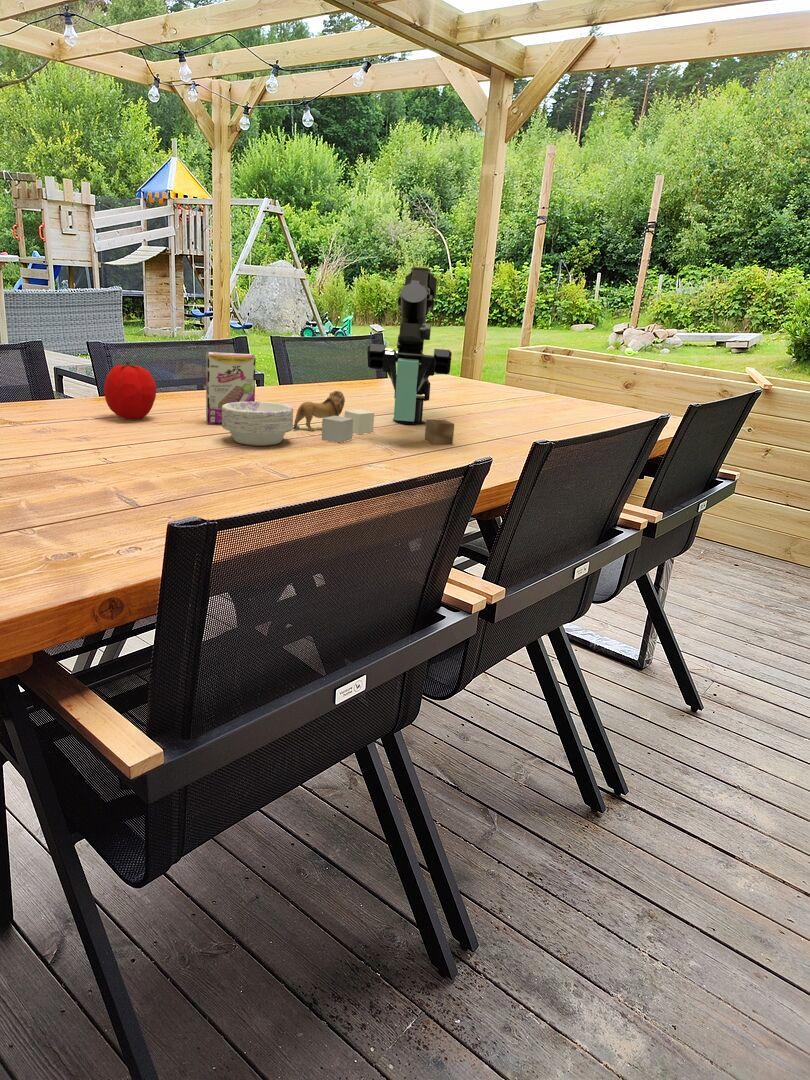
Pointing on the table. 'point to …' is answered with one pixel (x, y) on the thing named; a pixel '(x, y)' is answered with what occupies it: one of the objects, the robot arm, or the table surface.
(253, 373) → the candy bar box
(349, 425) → the grey cube
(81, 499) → the table surface
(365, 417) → the off-white cube
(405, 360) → the green block
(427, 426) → the walnut cube
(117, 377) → the tomato
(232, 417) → the paper bowls
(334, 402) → the lion figurine
